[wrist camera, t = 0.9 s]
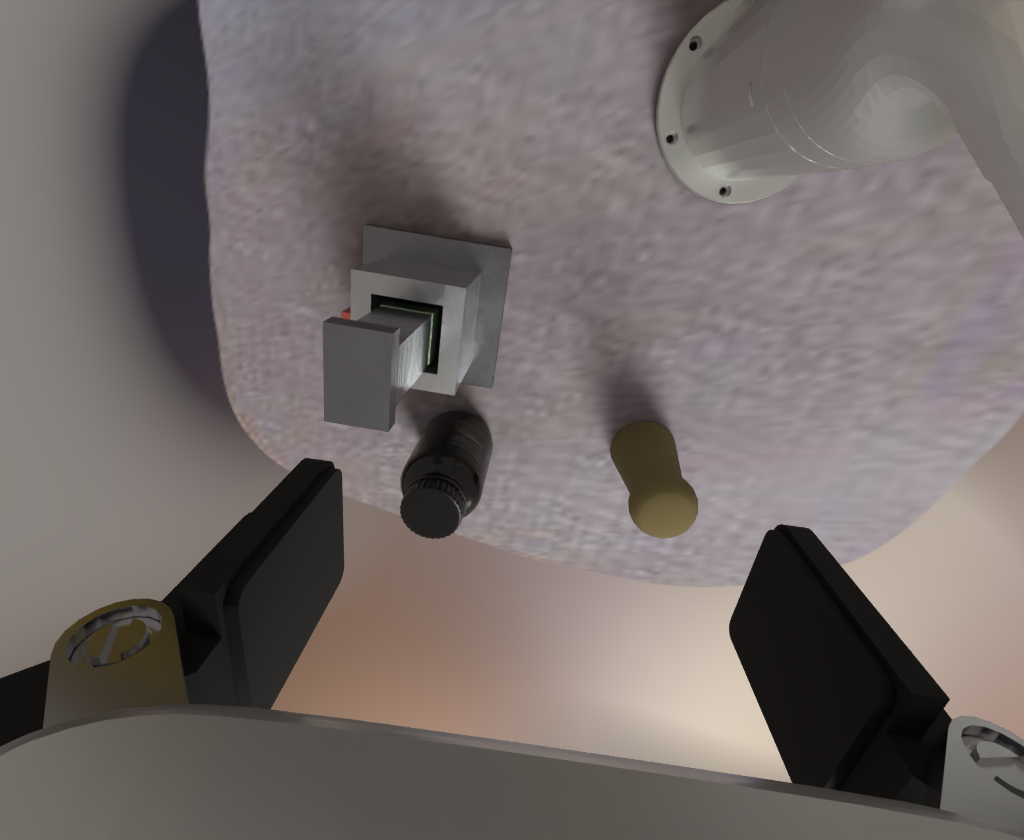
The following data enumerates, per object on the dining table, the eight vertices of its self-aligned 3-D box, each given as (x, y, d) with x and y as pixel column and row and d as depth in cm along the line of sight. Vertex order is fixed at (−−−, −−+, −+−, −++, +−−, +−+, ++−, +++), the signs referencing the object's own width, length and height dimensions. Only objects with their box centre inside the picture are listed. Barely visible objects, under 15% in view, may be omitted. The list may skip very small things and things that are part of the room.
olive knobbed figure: (600, 465, 47) (613, 536, 37) (626, 412, 45) (647, 472, 35) (657, 485, 48) (685, 560, 38) (687, 433, 45) (725, 499, 35)
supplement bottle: (412, 420, 47) (370, 487, 36) (478, 399, 46) (454, 462, 35) (440, 479, 49) (409, 558, 39) (503, 461, 48) (489, 538, 37)
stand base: (367, 224, 40) (319, 230, 32) (512, 248, 40) (501, 260, 32) (364, 363, 45) (322, 399, 37) (492, 384, 45) (479, 426, 37)
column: (410, 275, 40) (321, 321, 25) (454, 282, 40) (394, 333, 25) (406, 341, 42) (323, 420, 27) (448, 348, 42) (389, 432, 27)
